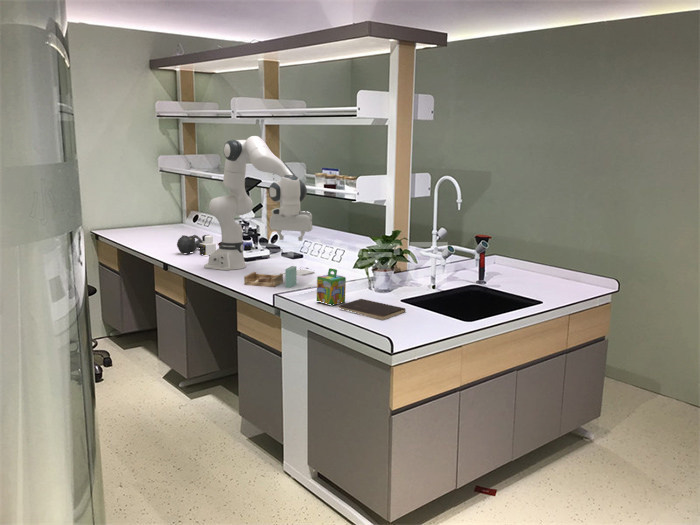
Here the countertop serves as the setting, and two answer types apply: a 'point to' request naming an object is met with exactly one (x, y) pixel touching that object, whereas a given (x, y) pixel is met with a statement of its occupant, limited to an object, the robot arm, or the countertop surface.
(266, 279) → the offcut short
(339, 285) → the green printed box
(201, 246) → the medicine bottle
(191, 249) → the gas mask
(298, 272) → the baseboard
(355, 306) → the hardcover book
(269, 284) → the rack
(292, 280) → the panel
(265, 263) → the countertop surface
